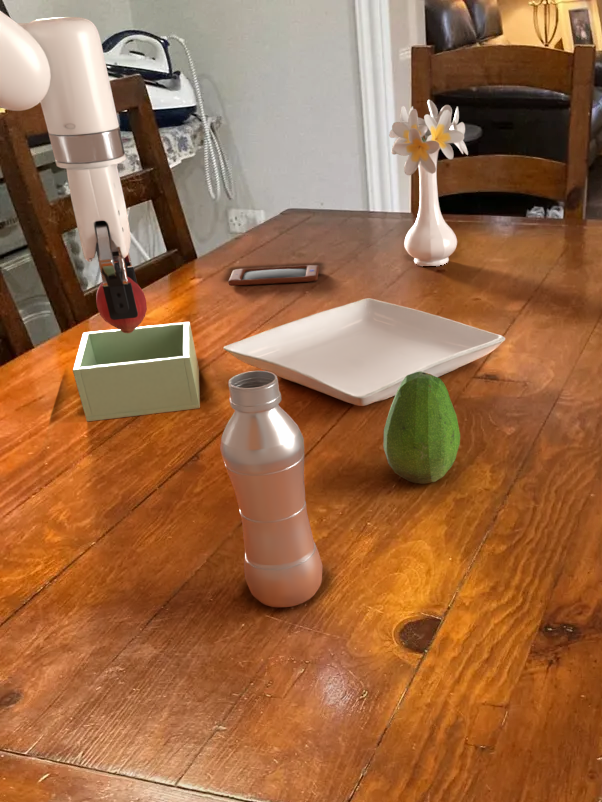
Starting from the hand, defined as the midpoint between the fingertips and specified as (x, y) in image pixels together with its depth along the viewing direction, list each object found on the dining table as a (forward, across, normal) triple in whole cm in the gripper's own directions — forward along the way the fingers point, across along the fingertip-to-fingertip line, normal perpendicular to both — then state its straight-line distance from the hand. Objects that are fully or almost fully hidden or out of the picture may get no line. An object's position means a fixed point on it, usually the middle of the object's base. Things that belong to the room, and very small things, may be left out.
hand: (125, 307), depth 114 cm
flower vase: (+12, -46, +48) cm, 67 cm away
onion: (+3, 0, 0) cm, 3 cm away
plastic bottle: (+11, +51, +14) cm, 54 cm away
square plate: (+11, -1, +29) cm, 31 cm away
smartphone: (+11, -46, +20) cm, 51 cm away
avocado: (+11, +33, +30) cm, 46 cm away
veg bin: (+11, 0, 0) cm, 11 cm away
